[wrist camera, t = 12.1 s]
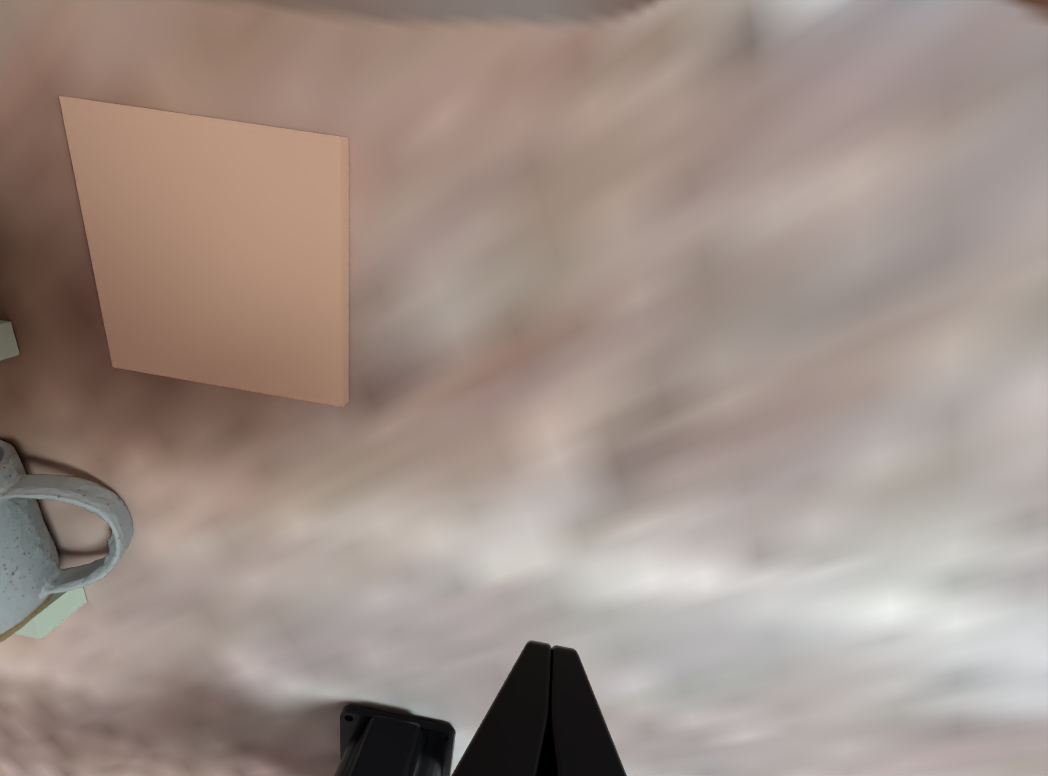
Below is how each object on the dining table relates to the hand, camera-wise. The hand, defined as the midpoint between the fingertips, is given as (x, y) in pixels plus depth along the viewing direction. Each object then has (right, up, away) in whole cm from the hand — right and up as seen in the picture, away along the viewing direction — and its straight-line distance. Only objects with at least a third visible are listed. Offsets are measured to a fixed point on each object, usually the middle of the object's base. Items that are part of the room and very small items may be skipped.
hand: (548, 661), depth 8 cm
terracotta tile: (-12, +9, +11) cm, 19 cm away
